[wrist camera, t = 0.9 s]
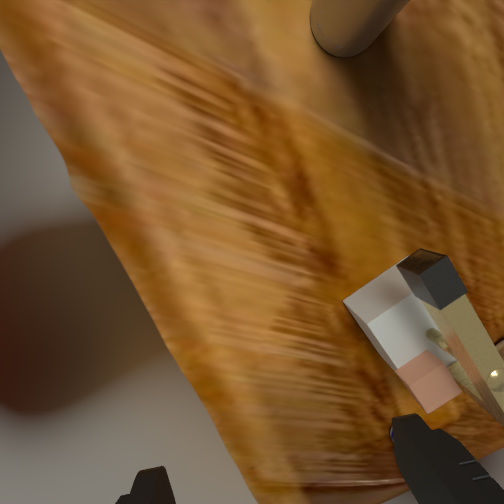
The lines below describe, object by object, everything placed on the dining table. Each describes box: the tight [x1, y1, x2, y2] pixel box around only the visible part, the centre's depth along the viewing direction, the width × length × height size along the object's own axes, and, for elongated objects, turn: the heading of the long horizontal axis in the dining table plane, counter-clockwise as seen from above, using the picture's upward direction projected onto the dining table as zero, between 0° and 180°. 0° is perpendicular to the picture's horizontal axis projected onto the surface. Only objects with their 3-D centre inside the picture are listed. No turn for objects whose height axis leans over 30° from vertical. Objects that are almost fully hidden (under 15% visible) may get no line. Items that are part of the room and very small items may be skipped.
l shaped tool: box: [396, 248, 504, 427], centre depth 30 cm, size 22×3×9 cm, turn 36°
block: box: [395, 350, 462, 414], centre depth 35 cm, size 5×5×3 cm
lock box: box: [343, 256, 457, 371], centre depth 39 cm, size 12×12×8 cm
